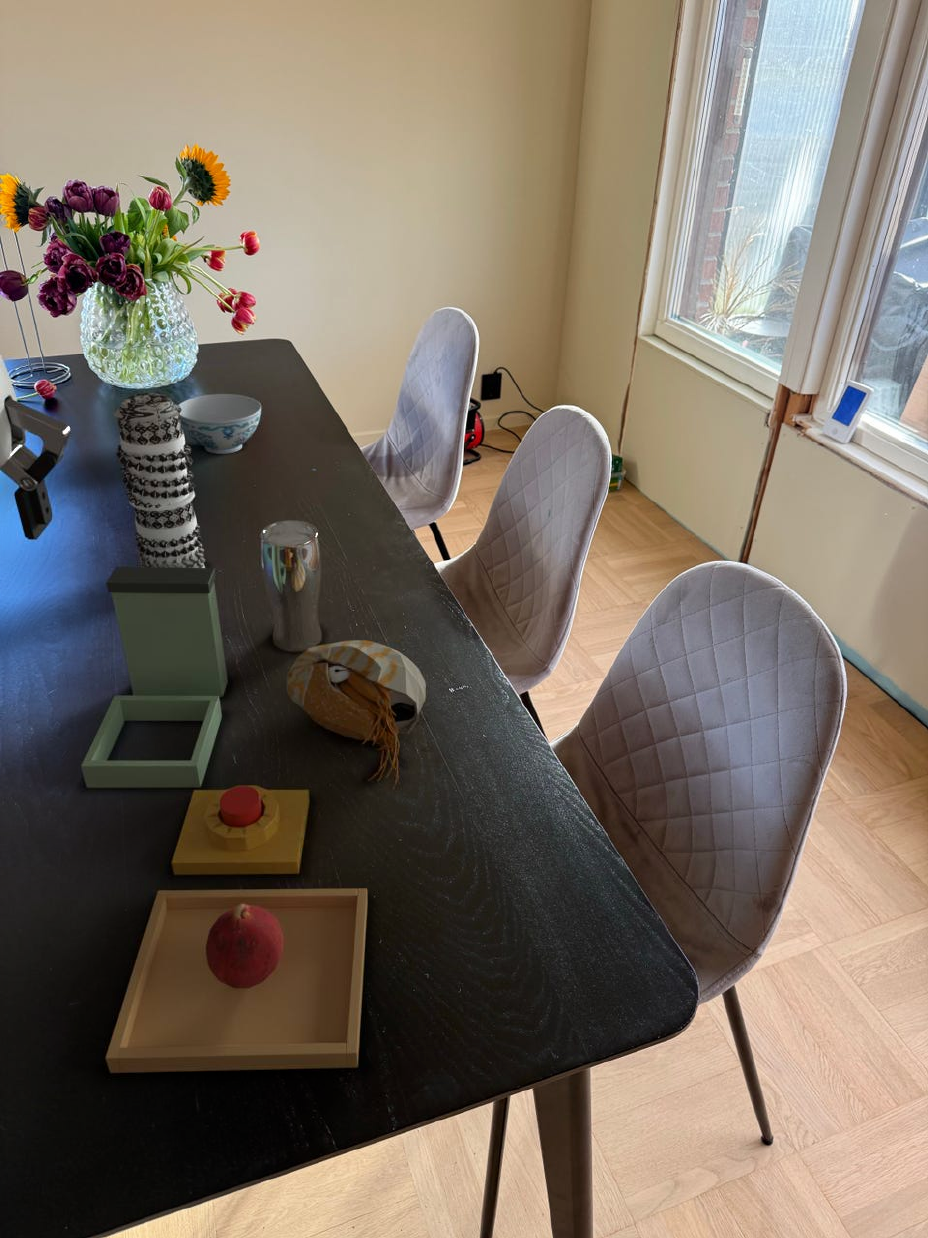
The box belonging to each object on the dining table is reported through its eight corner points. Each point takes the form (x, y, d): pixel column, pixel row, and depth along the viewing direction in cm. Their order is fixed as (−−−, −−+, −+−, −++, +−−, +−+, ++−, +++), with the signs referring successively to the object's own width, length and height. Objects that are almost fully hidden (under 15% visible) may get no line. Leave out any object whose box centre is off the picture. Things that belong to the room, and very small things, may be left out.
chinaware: (167, 444, 159) (160, 404, 155) (238, 427, 168) (234, 388, 164) (207, 469, 150) (201, 427, 146) (280, 450, 159) (277, 410, 155)
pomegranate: (283, 1007, 65) (274, 941, 61) (206, 1011, 65) (192, 945, 60) (289, 942, 70) (282, 876, 66) (218, 945, 70) (206, 879, 65)
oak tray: (110, 1074, 61) (105, 1058, 60) (161, 905, 73) (157, 890, 72) (357, 1068, 62) (356, 1053, 61) (367, 903, 74) (367, 888, 73)
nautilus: (450, 794, 87) (301, 819, 84) (413, 661, 103) (287, 679, 101) (450, 738, 82) (291, 763, 79) (410, 608, 98) (279, 625, 96)
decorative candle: (136, 592, 115) (101, 413, 102) (143, 559, 123) (111, 388, 109) (206, 587, 117) (181, 411, 104) (209, 555, 125) (185, 386, 111)
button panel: (174, 875, 76) (168, 848, 74) (196, 802, 84) (191, 776, 82) (298, 874, 77) (296, 847, 75) (309, 802, 84) (307, 776, 82)
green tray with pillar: (86, 788, 84) (52, 664, 76) (136, 680, 99) (112, 566, 91) (200, 788, 85) (179, 665, 77) (233, 680, 100) (218, 567, 92)
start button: (218, 828, 77) (215, 814, 76) (225, 799, 80) (223, 785, 79) (258, 828, 77) (256, 814, 76) (264, 799, 80) (263, 785, 79)
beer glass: (324, 622, 111) (318, 518, 103) (326, 652, 105) (320, 545, 97) (269, 625, 110) (259, 520, 102) (268, 656, 104) (257, 548, 96)
